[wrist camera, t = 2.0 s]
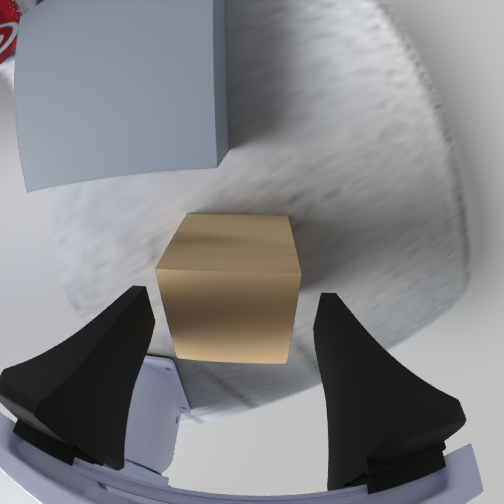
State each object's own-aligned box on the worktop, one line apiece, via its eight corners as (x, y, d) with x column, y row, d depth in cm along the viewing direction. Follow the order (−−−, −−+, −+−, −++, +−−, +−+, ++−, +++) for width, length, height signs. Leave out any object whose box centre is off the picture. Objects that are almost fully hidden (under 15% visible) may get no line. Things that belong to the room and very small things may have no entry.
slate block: (229, 149, 12) (217, 167, 8) (72, 168, 12) (26, 192, 9) (226, -20, 7) (214, -59, 4) (66, 24, 8) (20, 16, 4)
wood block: (280, 294, 16) (286, 363, 12) (195, 291, 16) (177, 358, 12) (287, 214, 13) (301, 273, 9) (187, 213, 13) (155, 268, 9)
